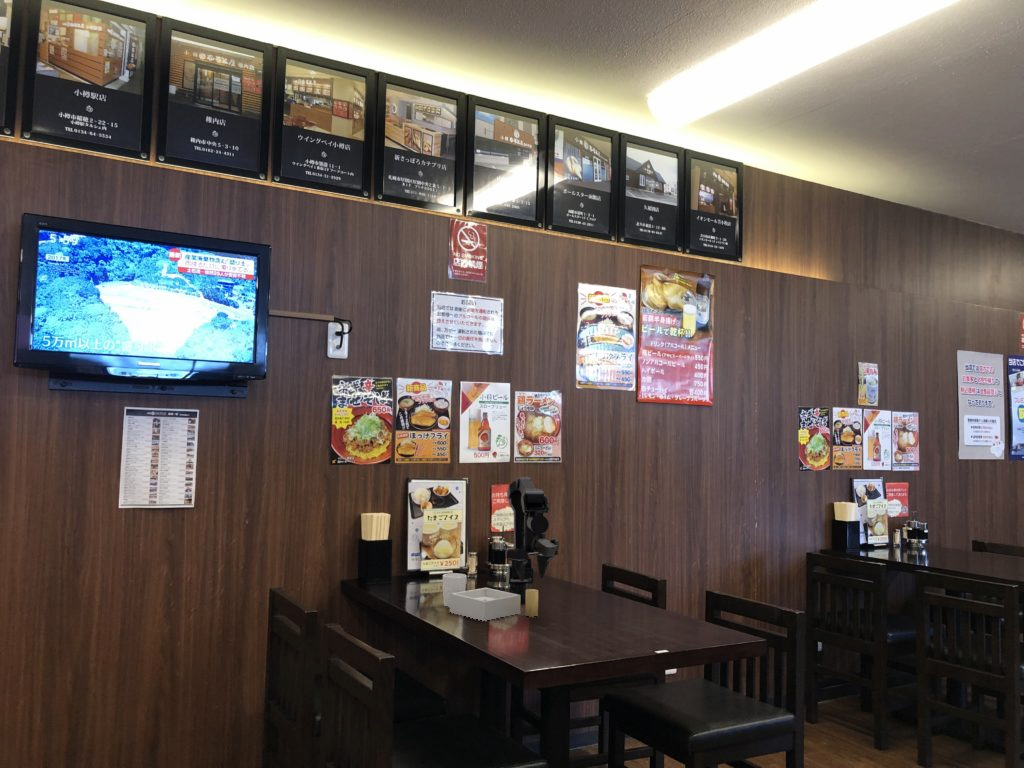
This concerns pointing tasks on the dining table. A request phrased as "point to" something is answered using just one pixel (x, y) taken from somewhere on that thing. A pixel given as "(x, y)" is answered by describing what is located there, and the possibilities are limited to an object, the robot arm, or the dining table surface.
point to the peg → (531, 603)
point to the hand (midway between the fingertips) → (532, 579)
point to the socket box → (485, 603)
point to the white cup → (452, 585)
